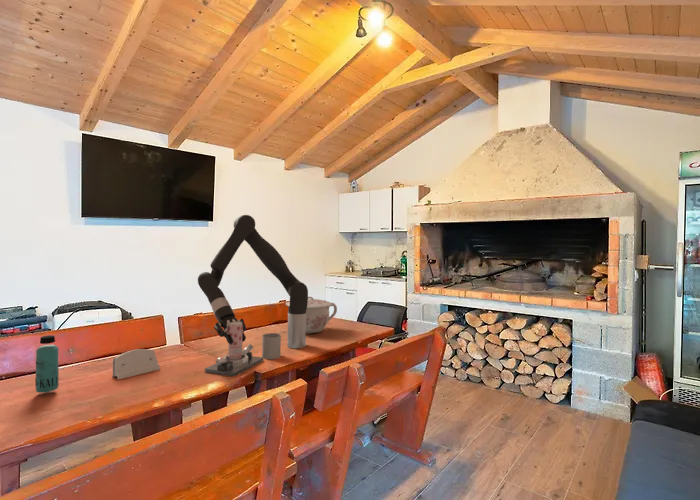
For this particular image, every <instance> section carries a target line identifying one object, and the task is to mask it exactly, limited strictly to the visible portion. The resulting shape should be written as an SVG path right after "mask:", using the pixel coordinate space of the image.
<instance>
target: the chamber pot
mask: <svg viewBox="0 0 700 500" xmlns="http://www.w3.org/2000/svg"><path fill="white" fill-rule="evenodd" d="M289 305H290V300H289V301H287V302H285V306H287V307H289ZM331 307H333V312H332V314H331V315H330V308H331ZM337 313H338V307H337V304H336V303H334V302H330V301H327V300H325V299H319V298H318V299H316V298H314V297H312V296H308V304H307V309H306V335H312V334H317V333H321V331H323V330H324V329H325V328H326V325H327V324H328V323H329V322H330V321H331V320H332V319H333V318H334V317H335V316H336V314H337Z"/></svg>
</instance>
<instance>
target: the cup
mask: <svg viewBox="0 0 700 500" xmlns="http://www.w3.org/2000/svg"><path fill="white" fill-rule="evenodd" d="M281 335H282V334H280V333H276V332H274V333H273V332H269V333H265V334H263V335H262V342H261V343H262V348H261V349H262V352H261V356H262V357H263V360H264V359H265V360H277V359H280V358H281V350H282V349H281V347H282V345H281V343H282V337H281Z"/></svg>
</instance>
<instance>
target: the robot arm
mask: <svg viewBox="0 0 700 500" xmlns="http://www.w3.org/2000/svg"><path fill="white" fill-rule="evenodd" d="M233 221H234V222H233V228H234V229H233V230H232V232H231V234H230V236H229V237H228V239H227V240H226V242H225V243H224V244H223V245H222V246H221V248H220V249H219V250H218V252H217V253H216V254H215V256H214V258H213V259H212V261H211V263H210V265H209V266H210V268H211V272H207V271H204V272H201V273H200V274H199V275H198V277H197V284H198V286H199V288H200V289H201V291H202V293H204V295H205V297H206V298H207V300H208V302H209V304H210V307H211V309H212V312H213V315H214V316H215V318H216V320H217V322H216V323H215V324H214V325H213V329H214V330H215V331H216V333H217V334H218V335H219V337H220V338H225V340H226V341H227V343H228V345H229V344H232V343H233V339H232V337H231V335H230V334H229V324H230V323H231V322H242V325H243V334H242V343H243V342H245V341H246V340H247V338H246V335H245V331H246V330H247V327H246V323H245V320H244V319H243V318H240V319H237V318H236V317H235V316H236V315H235V311H234V310H233V309H232V306H231V304H230V303H229V301H228V299H227V297H226V296H225V294H224V292H223V290H222V289H221V288H219V285H220V284H221V281H222V280H223V276H224V274H225V270H227V267H228V266H229V264H230V262H231V261H232V259H233V258H234V257H235V255H236V253H237V251H238V249H239V248H240V247H241V245H242V244H243V242H244V241H245V242H246V243H247V245H249V247H250V248H251V249H252V251H253V252H254V253H255V255H256V256H257V257H258V259H259V260H260V262H261V263H262V264H263V265H264V266H265V268H266V269H267V270H268V271H269V272H270V273H271V274H272V275H273V276H274V277H275V278H276V279H277V280H278V281H279V282H280V284H281V285H282V286H283V288H284V290H285V291H286V293H287V294H288V296H289V301H290V305H289V306H288V308H287V341H286V342H287V346H286V347H288V349H289V348H290V349H303V348H305V347H306V345H307V343H306V342H307V339H306V338H307V334H306V309H307V304H308V297H309V290H308V287H307V285H306V284H305V283H304V282H302V281H300V279H298V278H297V277H296V276H295V275H294V274H293V273H292V272H291V270H290V269H289V267H288V264H287V262H285V259H284V258H283V257H282V255H281V254H280V252H278V250H277V249H276V248H275V247H274V246H273V245H272V244H270V242H268V241H267V240H266V239H265V238H264V237H263V236H261V235H260V234H259V232H258V230H257V228H256V221H255V218H254V217H253V216H251V215H249V214H243V215H240V216H238V217H237V218H235V220H233Z"/></svg>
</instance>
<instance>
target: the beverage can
mask: <svg viewBox="0 0 700 500" xmlns="http://www.w3.org/2000/svg"><path fill="white" fill-rule="evenodd" d="M229 334H230V335H231V337H232V339H233V343H232V344H229V343H228V354H227V355H228V358H229V359H232V360H236V359H240V358H241V357H242V351H243V342H242V334H243V325H242V322H231V323H230V324H229Z"/></svg>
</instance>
